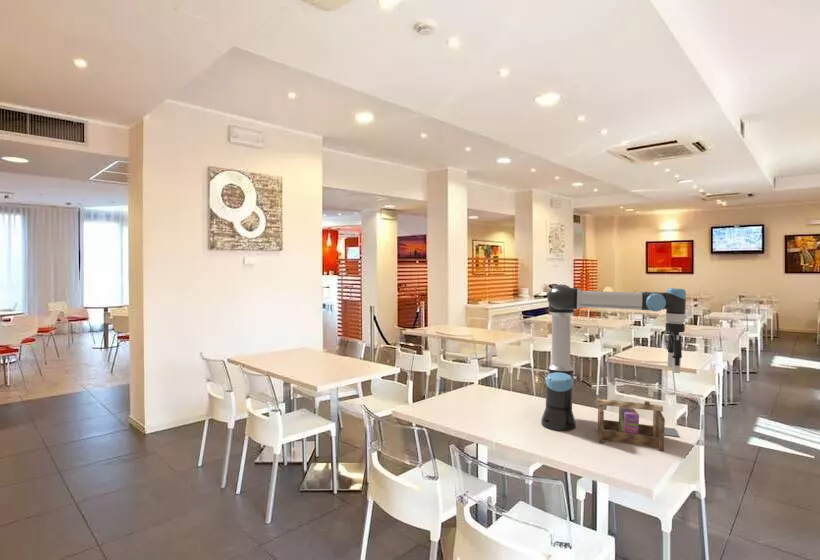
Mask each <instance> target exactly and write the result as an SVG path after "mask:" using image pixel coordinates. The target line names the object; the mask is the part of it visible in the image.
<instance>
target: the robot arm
mask: <svg viewBox="0 0 820 560" xmlns="http://www.w3.org/2000/svg"><path fill="white" fill-rule="evenodd" d="M686 292H687V291H686V290H685V289H683V288H673V287H672V288H670V287H669V288H667V289H666V292H665V291H664V292H657V291H639V292H631V291H630V292H629V291H601V290H599V291H598V290H581V289H580V288H579V287H578V288H577V287H570V286H569V285H567V284H562V283H561V284H555V286H553V287H551V288H550V289H549V291H548V293H547V302H548V313H549V314H550V315H551V364H550V365H549V366H548V374H547V375H546V379H545V384H546V386H545V408H544V411H543V414H542V417H541V420H540V422H541V425H542V426H543V427H545V428H546V429H548V430H554V431H559V432H560V431H561V432H564V431H565V432H567V431H573V430H575V429H576V426H577V423H576V419H575V415H574V413H573V412H574V411H573V392H574V385H575V380H574V368H573V367H572V366H571V316H573V314H574V313H575V310H578V309H580V308H588V309H589V308H590V309H592V308H593V309H612V310H614V309H615V310H632V311H633V310H637V311H651V312H661V310H665V311H666V312H665V331H666V332H668V341H667V346H666V347H667V348H666V350H667V365H666V366H667V368H672V373H673V374H674V373H675V374H681V359H682V357H683V353H682V335H680V333H684V332H685V330H686V328H685V327H686V324H685V322H686V319H687V315H686V303H687V297H686V296H687V293H686Z"/></svg>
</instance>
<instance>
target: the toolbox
mask: <svg viewBox="0 0 820 560" xmlns="http://www.w3.org/2000/svg"><path fill="white" fill-rule="evenodd" d="M652 412H653V413H652V424H645V423H643V424H642V423H639V429H638V434H631V433H623V432H618V429H619V420H618V421H617V420H609V419H608V420H607V419H604V418H605V417H604V415H605V411H604V405H598V406H597V436H598V443H599V444H604V441H605V442H613V443H614V442H615V443H621V444H629V445H635V446H643V447H644V446H645V447H650V448H651V447H652V448H658V451H659V452H664V451H665V435H664V428H665V427H666V425H665V423H666V419H665V417H664V415H663V414H662V411H653V410H652Z"/></svg>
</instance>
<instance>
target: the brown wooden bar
mask: <svg viewBox="0 0 820 560" xmlns="http://www.w3.org/2000/svg"><path fill="white" fill-rule="evenodd" d="M596 404H597V405H603V406H608V407H618V408H619V407H625V408H633V409H634V410H644V411H645V410H647V411H652V412H653V411H661V413H662V412H663V411H664V410H663V409H664V406H663V405H662V404H653V403H651V402H650V401H647V400H645V401H644V403H640V402H634V401H633V402H632V401H623V400H613V399H604V398H603V399H602V398H597V399H596Z"/></svg>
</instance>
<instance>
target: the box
mask: <svg viewBox="0 0 820 560" xmlns="http://www.w3.org/2000/svg"><path fill="white" fill-rule="evenodd" d="M618 421H619V429H618V431H617V432H623V433H631V434H638V429H639V424H640V414H639V413H638V412H637V411H636V409H634V408H625V407H618Z"/></svg>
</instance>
